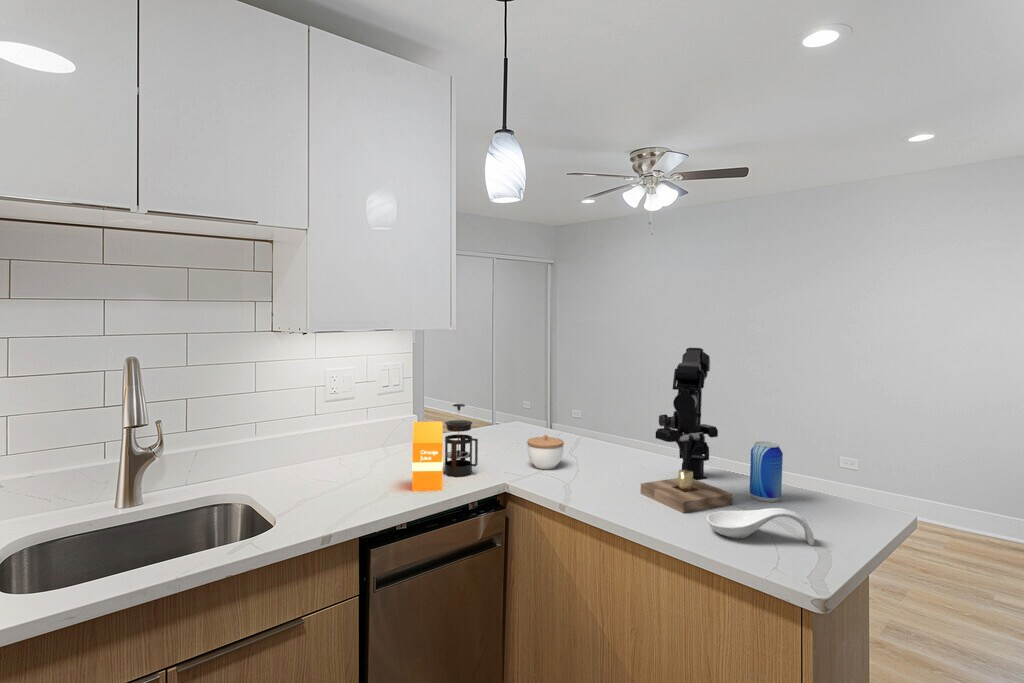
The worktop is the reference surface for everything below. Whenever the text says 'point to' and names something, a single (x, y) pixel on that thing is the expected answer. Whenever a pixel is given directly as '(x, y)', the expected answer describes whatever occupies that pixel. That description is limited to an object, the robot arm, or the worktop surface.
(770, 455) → the beer can
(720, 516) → the spoon rest
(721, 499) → the walnut jig
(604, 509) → the worktop surface
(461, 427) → the french press
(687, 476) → the brass sleeve
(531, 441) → the lidded bowl
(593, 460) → the worktop surface
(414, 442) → the orange juice
